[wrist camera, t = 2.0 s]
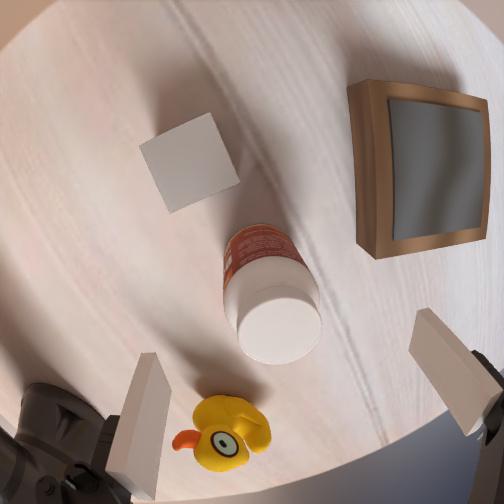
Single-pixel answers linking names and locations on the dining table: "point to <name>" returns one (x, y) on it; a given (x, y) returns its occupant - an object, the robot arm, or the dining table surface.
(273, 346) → the pill bottle
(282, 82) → the dining table surface
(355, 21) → the dining table surface
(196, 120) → the stone block
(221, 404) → the duckling
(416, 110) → the podium
